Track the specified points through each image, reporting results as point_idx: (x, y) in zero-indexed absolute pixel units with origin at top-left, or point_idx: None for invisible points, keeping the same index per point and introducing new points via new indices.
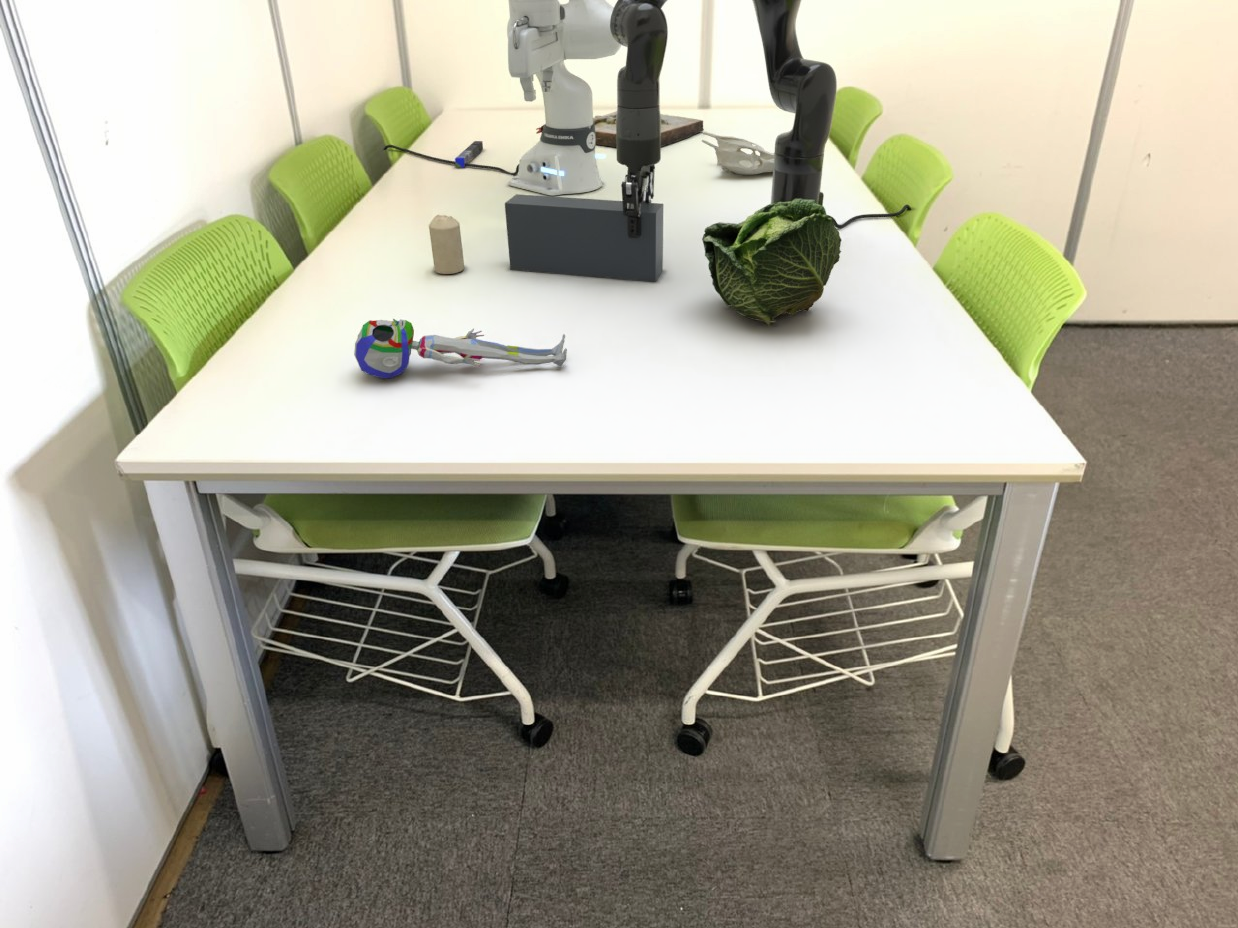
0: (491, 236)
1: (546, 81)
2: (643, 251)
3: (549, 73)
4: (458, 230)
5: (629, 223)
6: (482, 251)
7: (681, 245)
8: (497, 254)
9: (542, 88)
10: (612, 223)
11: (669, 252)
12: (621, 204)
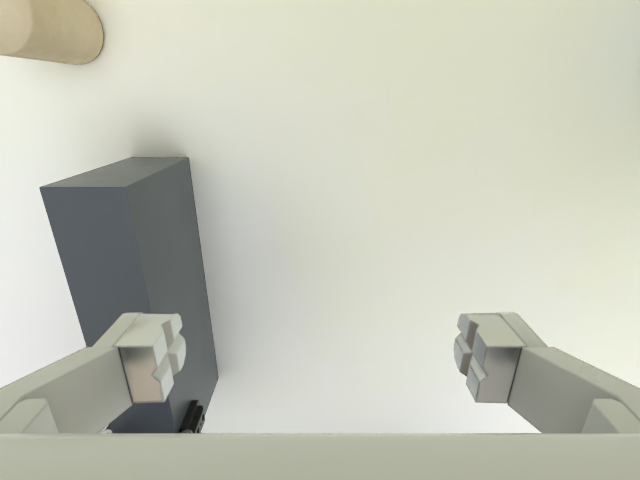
0: (306, 30)
1: (508, 375)
2: None
3: (577, 430)
4: (13, 56)
5: (109, 424)
6: (206, 53)
7: (336, 379)
8: (200, 96)
9: (469, 324)
10: None
11: (300, 370)
12: (149, 417)
